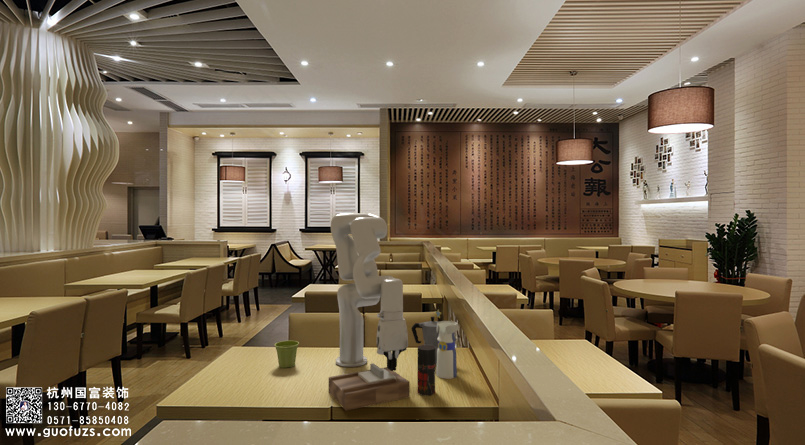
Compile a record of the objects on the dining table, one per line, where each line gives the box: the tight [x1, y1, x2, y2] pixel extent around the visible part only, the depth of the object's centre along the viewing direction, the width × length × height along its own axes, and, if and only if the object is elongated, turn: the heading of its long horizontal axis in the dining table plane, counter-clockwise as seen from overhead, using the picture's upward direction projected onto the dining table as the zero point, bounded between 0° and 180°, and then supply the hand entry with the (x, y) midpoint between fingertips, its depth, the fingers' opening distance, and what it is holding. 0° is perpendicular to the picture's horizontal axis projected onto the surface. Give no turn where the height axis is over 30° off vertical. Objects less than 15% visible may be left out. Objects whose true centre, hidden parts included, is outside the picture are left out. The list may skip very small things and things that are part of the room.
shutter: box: [357, 363, 396, 383], centre depth 147 cm, size 10×10×4 cm
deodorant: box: [416, 344, 436, 397], centre depth 148 cm, size 6×6×15 cm
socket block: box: [328, 366, 410, 412], centre depth 146 cm, size 16×22×6 cm
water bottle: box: [435, 308, 460, 380], centre depth 164 cm, size 8×9×25 cm
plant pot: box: [273, 340, 300, 369], centre depth 174 cm, size 9×9×9 cm
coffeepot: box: [411, 316, 439, 365], centre depth 181 cm, size 15×9×18 cm, turn 103°
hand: (391, 369), depth 150 cm, fingers closed
